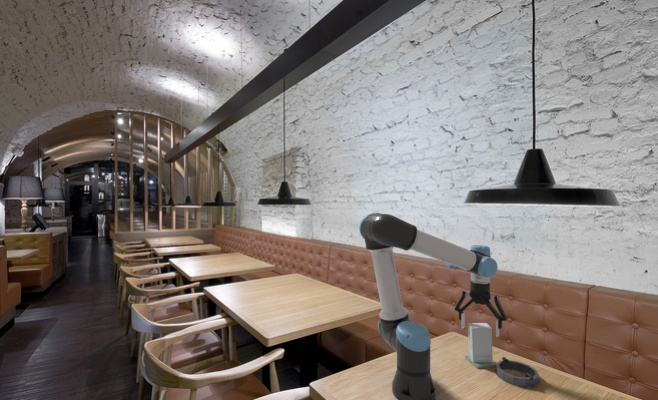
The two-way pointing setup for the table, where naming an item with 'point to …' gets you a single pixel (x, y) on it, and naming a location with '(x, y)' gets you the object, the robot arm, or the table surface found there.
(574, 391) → the table surface
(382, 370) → the table surface
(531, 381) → the locking ring
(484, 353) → the skincare box
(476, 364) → the plate
